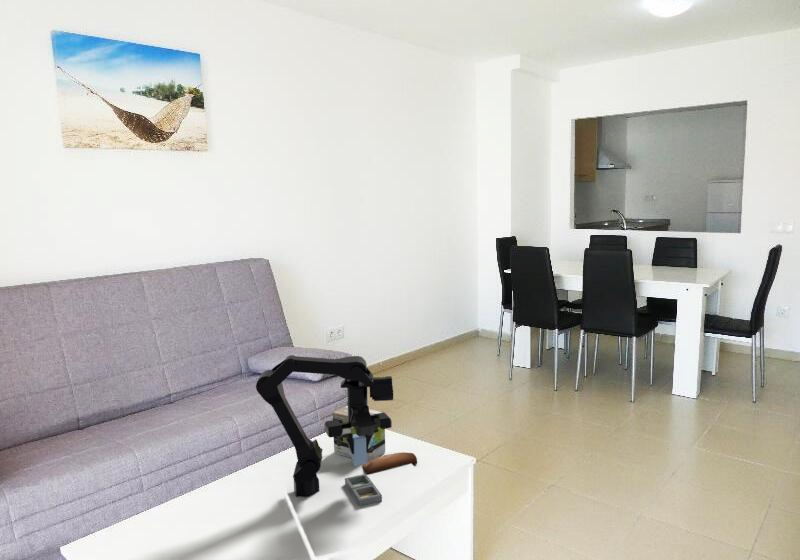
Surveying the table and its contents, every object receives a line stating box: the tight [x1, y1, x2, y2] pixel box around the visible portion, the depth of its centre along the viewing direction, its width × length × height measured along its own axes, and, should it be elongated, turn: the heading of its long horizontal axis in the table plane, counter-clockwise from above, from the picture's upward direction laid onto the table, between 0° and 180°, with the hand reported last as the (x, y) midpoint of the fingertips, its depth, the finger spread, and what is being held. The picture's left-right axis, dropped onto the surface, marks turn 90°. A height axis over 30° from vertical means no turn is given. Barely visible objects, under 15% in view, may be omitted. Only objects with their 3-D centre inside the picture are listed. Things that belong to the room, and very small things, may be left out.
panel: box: [344, 473, 383, 508], centre depth 167 cm, size 8×14×3 cm, turn 23°
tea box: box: [332, 405, 386, 462], centre depth 194 cm, size 15×10×15 cm, turn 56°
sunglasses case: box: [361, 452, 418, 475], centre depth 185 cm, size 18×7×7 cm
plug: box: [351, 434, 367, 467], centre depth 168 cm, size 4×4×8 cm
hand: (358, 452), depth 168 cm, fingers closed on plug, 3 cm apart
